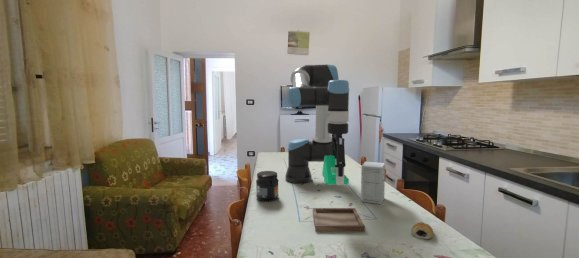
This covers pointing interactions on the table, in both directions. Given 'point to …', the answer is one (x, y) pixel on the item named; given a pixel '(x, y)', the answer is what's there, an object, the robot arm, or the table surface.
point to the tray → (337, 220)
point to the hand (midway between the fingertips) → (337, 179)
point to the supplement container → (267, 186)
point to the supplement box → (372, 182)
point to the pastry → (422, 231)
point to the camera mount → (330, 171)
